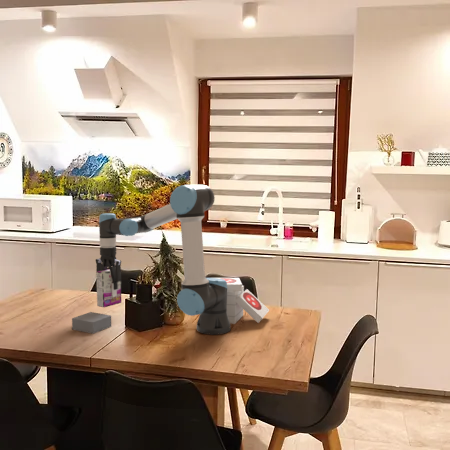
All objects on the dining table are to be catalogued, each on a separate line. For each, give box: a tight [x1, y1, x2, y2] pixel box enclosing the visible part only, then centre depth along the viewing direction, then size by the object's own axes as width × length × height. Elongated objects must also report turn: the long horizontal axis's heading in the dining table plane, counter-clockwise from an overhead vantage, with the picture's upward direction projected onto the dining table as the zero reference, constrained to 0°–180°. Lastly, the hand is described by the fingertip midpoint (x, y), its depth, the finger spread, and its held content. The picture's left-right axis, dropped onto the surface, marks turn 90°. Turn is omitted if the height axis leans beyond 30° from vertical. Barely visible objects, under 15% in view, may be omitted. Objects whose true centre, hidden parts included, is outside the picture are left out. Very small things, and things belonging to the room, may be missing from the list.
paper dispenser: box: [217, 277, 270, 325], centre depth 253 cm, size 19×30×18 cm, turn 73°
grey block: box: [71, 311, 112, 334], centre depth 236 cm, size 12×12×5 cm
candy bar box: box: [95, 268, 122, 308], centre depth 249 cm, size 11×5×16 cm, turn 143°
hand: (109, 295), depth 249 cm, fingers closed on candy bar box, 5 cm apart
